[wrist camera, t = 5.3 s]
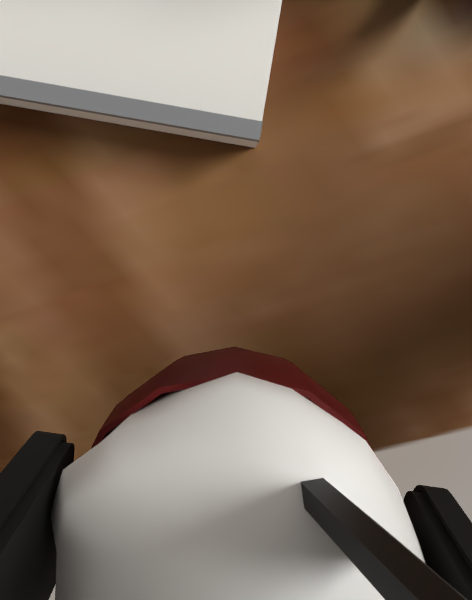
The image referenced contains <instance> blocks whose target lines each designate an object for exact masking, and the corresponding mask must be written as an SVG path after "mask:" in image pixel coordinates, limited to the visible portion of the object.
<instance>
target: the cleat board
mask: <svg viewBox="0 0 472 600" xmlns="http://www.w3.org/2000/svg"><path fill="white" fill-rule="evenodd" d="M281 4H282V0H0V104H5V105H11V106H16V107H22V108H28V109H34V110H39V111H45V112H51V113H57V114H62V115H68V116H74V117H80V118H86V119H91V120H97V121H103V122H109V123H114V124H120V125H126V126H132V127H137V128H143V129H149V130H155V131H161V132H166V133H172V134H178V135H184V136H189V137H195V138H201V139H207V140H212V141H218V142H224V143H230V144H236V145H241V146H247V147H253V148H255V147H256V145H257V144H258V142H259V140H260V135H261V129H262V123H263V121H262V118H263V112H264V106H265V100H266V94H267V88H268V82H269V76H270V70H271V64H272V58H273V52H274V46H275V40H276V34H277V28H278V22H279V16H280V10H281Z"/></svg>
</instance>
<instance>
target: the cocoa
mask: <svg viewBox="0 0 472 600" xmlns="http://www.w3.org/2000/svg"><path fill="white" fill-rule="evenodd" d="M51 522H52V528H53V534H54V540H55V545H56V551H57V559H56V591H55V600H468V599H466V598H465V597H464V596H463V595H462V594H461V593H459V592H458V591H457V590H456V589H455V588H453V587H452V586H451V585H450V584H449V583H448V582H446V581H445V580H444V579H443V578H442V577H441V576H439V575H438V574H437V573H436V572H435V571H434V570H432V569H431V568H430V567H429V566H428V565H426V563H425V559H424V556H423V553H422V550H421V546H420V543H419V541H418V538H417V536H416V533H415V530H414V528H413V525H412V523H411V520H410V517H409V515H408V512H407V510H406V507H405V504H404V502H403V499H402V497H401V494H400V492H399V489H398V487H397V486H396V484H395V483H394V481H393V480H392V478H391V477H390V475H389V474H388V472H387V471H386V470H385V468H384V467H383V465H382V464H381V462H380V461H379V459H378V458H377V457H376V455H375V453H374V452H373V451H372V449H371V447H370V444H369V442H368V440H367V437H366V435H365V434H364V432H363V430H362V429H361V427H360V425H359V424H358V422H357V421H356V419H355V418H354V416H353V415H352V413H351V412H350V410H348V409H347V408H346V407H345V406H344V405H343V404H342V403H340V402H339V401H338V400H337V399H336V398H335V397H333V396H332V395H331V394H330V393H329V392H327V391H326V390H325V389H324V388H322V387H321V386H320V385H319V384H317V383H316V382H315V381H314V380H312V379H311V378H310V377H309V376H308V375H306V374H305V373H304V372H303V371H301V370H300V369H299V368H298V367H296V366H295V365H294V364H293V363H291V362H289V361H287V360H285V359H283V358H279V357H275V356H271V355H267V354H263V353H259V352H254V351H250V350H246V349H242V348H238V347H230V348H225V349H220V350H214V351H209V352H204V353H199V354H193V355H188V356H184V357H182V358H180V359H178V360H176V361H175V362H173V363H172V364H171V365H169V366H168V367H166V368H165V369H164V370H162V371H161V372H160V373H158V374H157V375H155V376H154V377H153V378H151V379H150V380H149V381H147V382H146V383H144V384H143V385H142V386H140V387H139V388H138V389H136V390H135V391H133V392H132V393H131V394H129V395H128V396H127V397H126V398H125V399H123V400H122V401H121V402H120V403H119V404H117V405H116V407H115V408H114V410H113V411H112V412H111V414H110V415H109V417H108V418H107V420H106V421H105V423H104V425H103V426H102V428H101V429H100V431H99V433H98V435H97V437H96V439H95V441H94V443H93V445H92V447H91V449H90V450H89V451H88V452H87V453H85V454H84V455H82V456H81V457H80V458H78V459H77V460H76V461H74V462H73V463H71V464H70V465H69V466H67V467H66V468H65V469H63V471H62V474H61V477H60V481H59V484H58V487H57V491H56V494H55V497H54V501H53V504H52V510H51Z"/></svg>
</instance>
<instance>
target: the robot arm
mask: <svg viewBox="0 0 472 600" xmlns="http://www.w3.org/2000/svg"><path fill="white" fill-rule="evenodd" d="M73 461H74V444H73V443H66V436H65V435H63V434H56V433H49V432H42V431H36V432H35V433H33V435H32V436H31V437H30V438H29V439H28V441H27V442H26V443H25V444H24V445H23V447H22V448H21V449H20V450H19V451H18V453H17V454H16V455H15V456H14V458H13V459H12V460H11V461H10V462H9V464H8V465H7V466H6V467H5V468H4V470H3V471H2V472H1V473H0V600H48V599H49V597H50V595H51V593H52V591H53V588H54V586H55V584H56V559H57V551H56V545H55V540H54V534H53V528H52V522H51V510H52V504H53V501H54V497H55V494H56V491H57V487H58V484H59V481H60V477H61V474H62V471H63V469H65V468H66V467H67V466H69V465H70V464H71V463H73ZM403 502H404V504H405V507H406V510H407V512H408V515H409V517H410V520H411V523H412V525H413V528H414V530H415V533H416V536H417V538H418V541H419V543H420V546H421V550H422V553H423V556H424V559H425V563H426V565H428V566H429V567H430V568H431V569H432V570H434V571H435V572H436V573H437V574H438V575H439V576H441V577H442V578H443V579H444V580H445V581H446V582H448V583H449V584H450V585H451V586H452V587H453V588H455V589H456V590H457V591H458V592H459V593H461V594H462V595H463V596H464V597H465V598H466V599H468V600H472V523H471V521H470V520H469V518H468V517H467V515H466V514H465V513H464V511H463V510H462V508H461V507H460V506H459V504H458V503H457V501H456V500H455V499H454V497H453V496H452V494H451V493H450V492H449V491H448V490H447V489H444V488H437V487H430V486H423V485H418V486H416V487H415V488H414V490H413V491H408V492H407V493H406V495H405V498H404V501H403Z"/></svg>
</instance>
